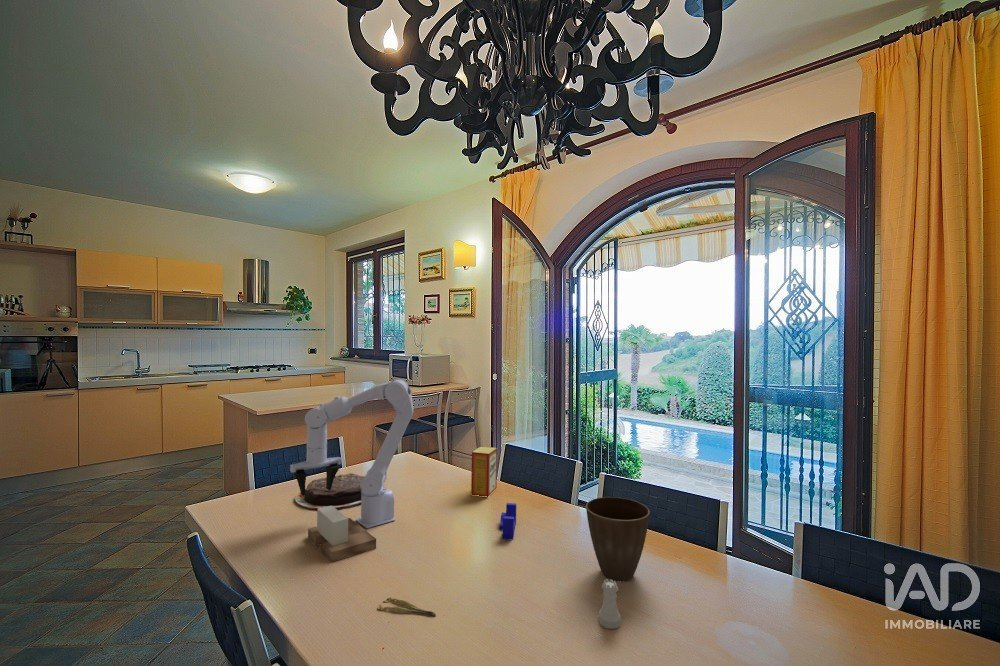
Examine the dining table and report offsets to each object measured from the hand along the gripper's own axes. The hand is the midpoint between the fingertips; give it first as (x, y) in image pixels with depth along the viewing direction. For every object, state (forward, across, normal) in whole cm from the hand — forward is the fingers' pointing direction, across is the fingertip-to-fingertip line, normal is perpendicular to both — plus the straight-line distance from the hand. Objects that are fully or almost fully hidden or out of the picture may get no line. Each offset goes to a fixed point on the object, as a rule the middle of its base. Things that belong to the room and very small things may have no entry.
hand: (316, 491), depth 135 cm
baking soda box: (+10, -57, +11) cm, 59 cm away
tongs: (+10, 0, +56) cm, 57 cm away
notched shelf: (+9, -1, +18) cm, 20 cm away
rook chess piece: (+10, -29, +86) cm, 91 cm away
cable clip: (+10, -42, +41) cm, 59 cm away
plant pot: (+10, -46, +76) cm, 89 cm away
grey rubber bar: (+7, +2, +18) cm, 19 cm away
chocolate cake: (+10, -14, -19) cm, 26 cm away
